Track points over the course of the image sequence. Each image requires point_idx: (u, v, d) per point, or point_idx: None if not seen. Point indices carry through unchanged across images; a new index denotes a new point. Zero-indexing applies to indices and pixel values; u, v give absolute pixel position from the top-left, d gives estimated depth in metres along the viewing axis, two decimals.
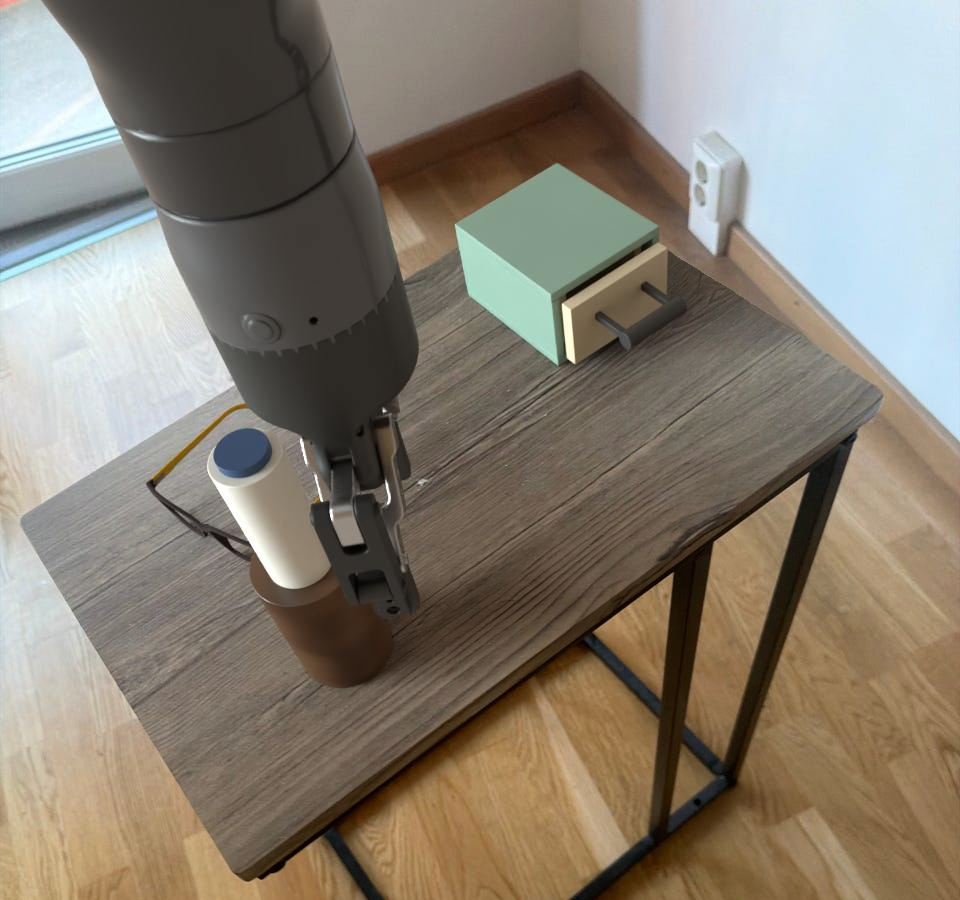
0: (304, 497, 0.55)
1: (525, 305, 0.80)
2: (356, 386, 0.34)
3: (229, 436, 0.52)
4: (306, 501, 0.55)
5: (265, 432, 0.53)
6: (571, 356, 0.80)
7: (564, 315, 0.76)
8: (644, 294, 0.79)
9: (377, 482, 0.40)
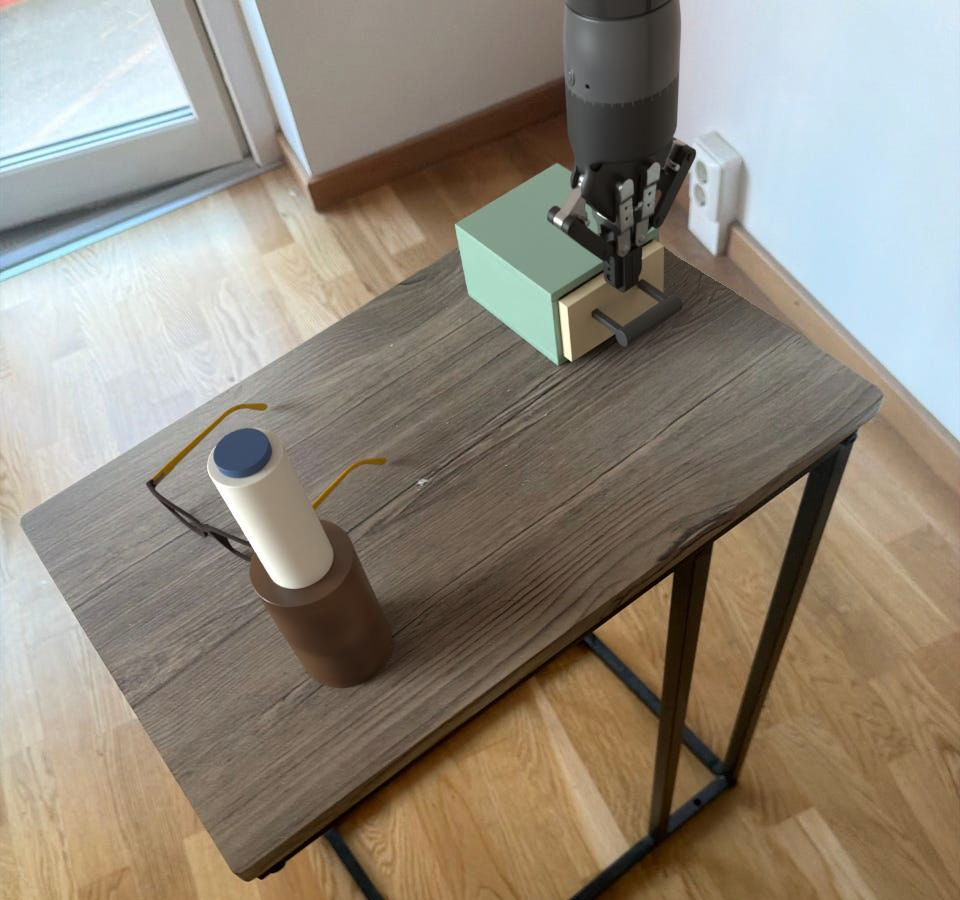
0: (304, 497, 0.55)
1: (525, 305, 0.80)
2: (597, 138, 0.62)
3: (229, 436, 0.52)
4: (306, 501, 0.55)
5: (265, 432, 0.53)
6: (567, 353, 0.80)
7: (561, 312, 0.77)
8: (641, 292, 0.80)
9: (599, 209, 0.68)
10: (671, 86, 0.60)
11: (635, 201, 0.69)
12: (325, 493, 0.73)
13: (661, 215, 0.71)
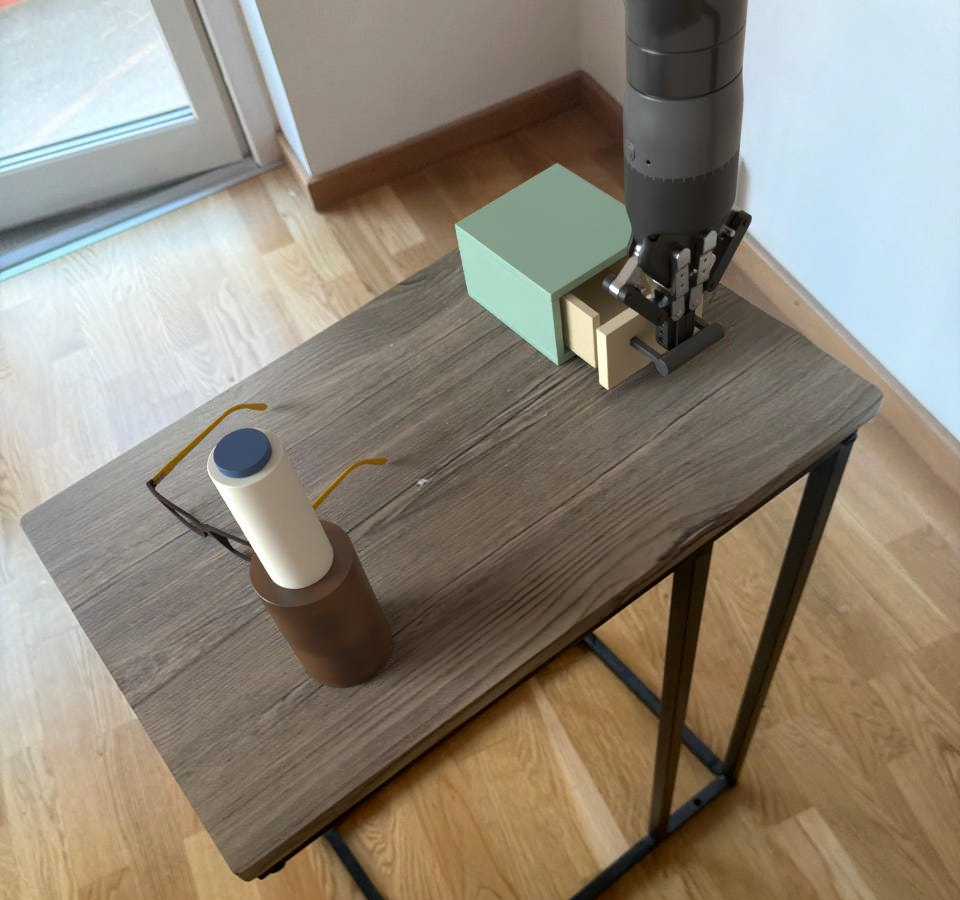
0: (304, 497, 0.55)
1: (525, 305, 0.80)
2: (656, 211, 0.62)
3: (229, 436, 0.52)
4: (306, 501, 0.55)
5: (265, 432, 0.53)
6: (604, 381, 0.78)
7: (598, 341, 0.74)
8: None
9: (655, 277, 0.67)
10: (732, 160, 0.60)
11: (690, 267, 0.68)
12: (325, 493, 0.73)
13: (715, 279, 0.71)
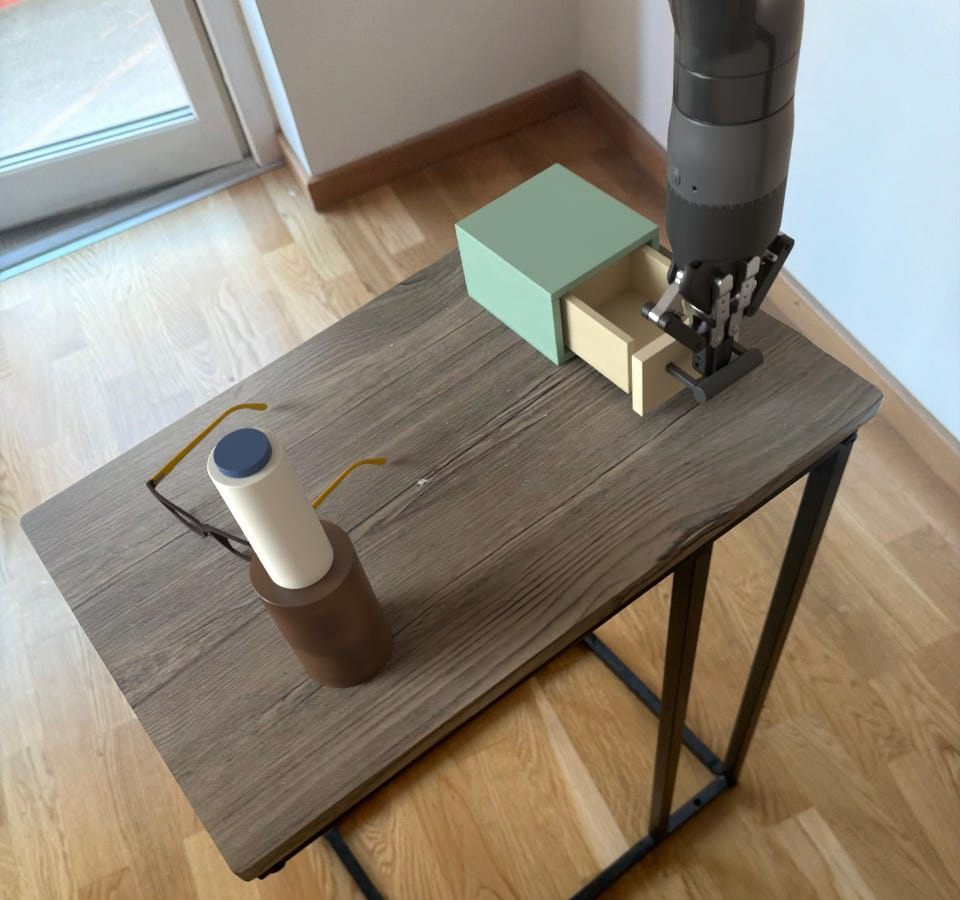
0: (304, 497, 0.55)
1: (525, 305, 0.80)
2: (701, 238, 0.60)
3: (229, 436, 0.52)
4: (306, 501, 0.55)
5: (265, 432, 0.53)
6: (638, 408, 0.75)
7: (634, 367, 0.72)
8: None
9: (695, 303, 0.65)
10: (781, 186, 0.58)
11: (731, 293, 0.66)
12: (325, 493, 0.73)
13: (755, 304, 0.69)
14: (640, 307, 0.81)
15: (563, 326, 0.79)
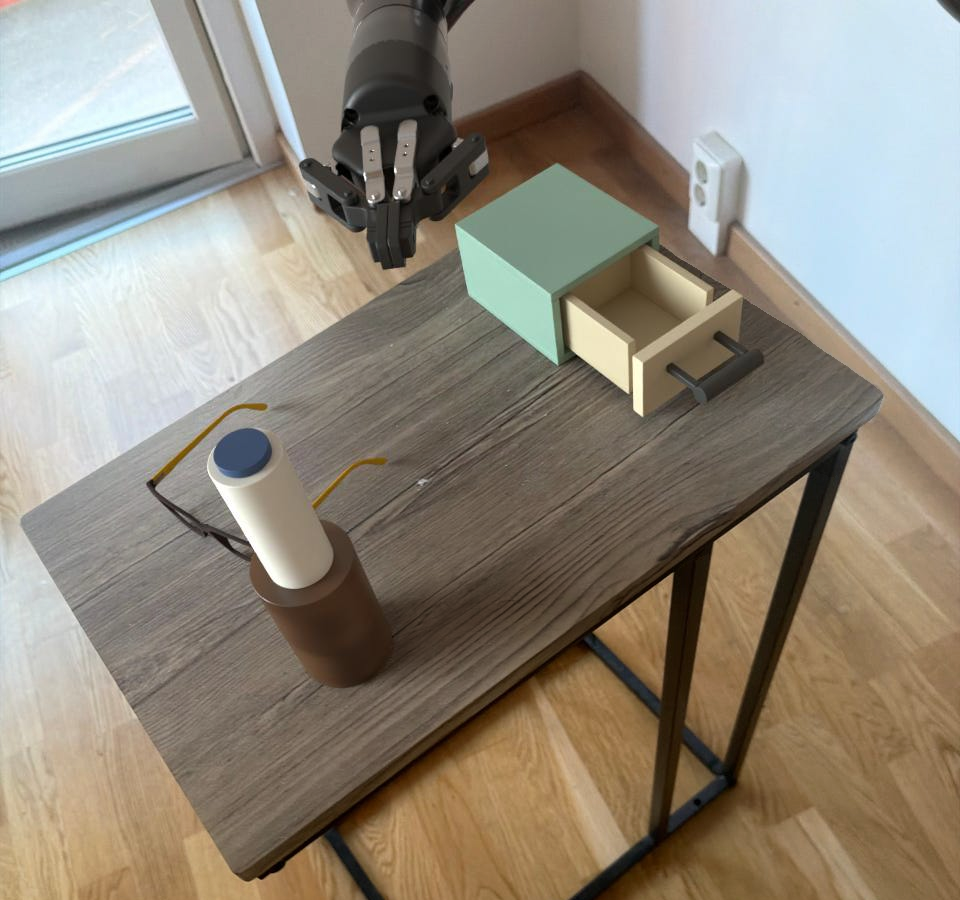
0: (304, 497, 0.55)
1: (525, 305, 0.80)
2: None
3: (229, 436, 0.52)
4: (306, 501, 0.55)
5: (265, 432, 0.53)
6: (638, 408, 0.75)
7: (634, 367, 0.72)
8: (716, 343, 0.75)
9: (348, 163, 0.61)
10: (402, 42, 0.62)
11: (395, 161, 0.60)
12: (325, 493, 0.73)
13: (433, 177, 0.58)
14: (641, 307, 0.81)
15: (564, 327, 0.79)
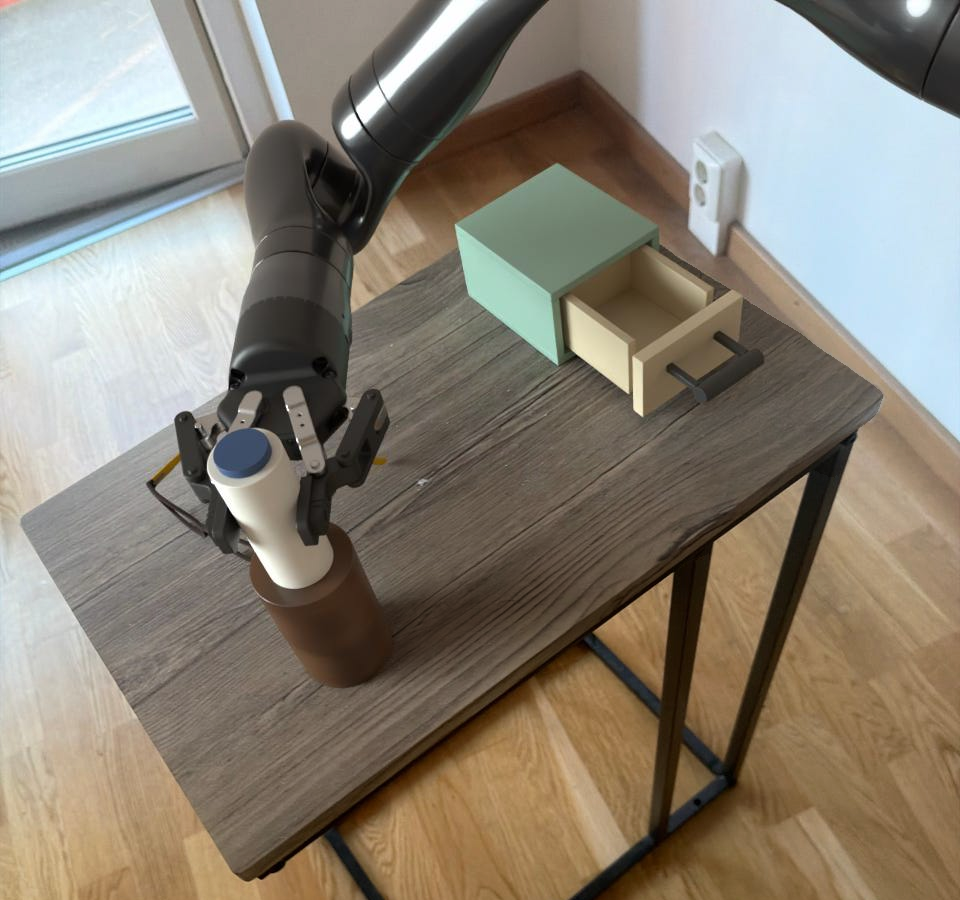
0: None
1: (525, 305, 0.80)
2: None
3: (229, 436, 0.52)
4: None
5: (265, 432, 0.53)
6: (638, 408, 0.75)
7: (634, 367, 0.72)
8: (716, 343, 0.75)
9: None
10: (292, 299, 0.59)
11: (291, 432, 0.57)
12: None
13: (346, 448, 0.55)
14: (641, 307, 0.81)
15: (564, 327, 0.79)
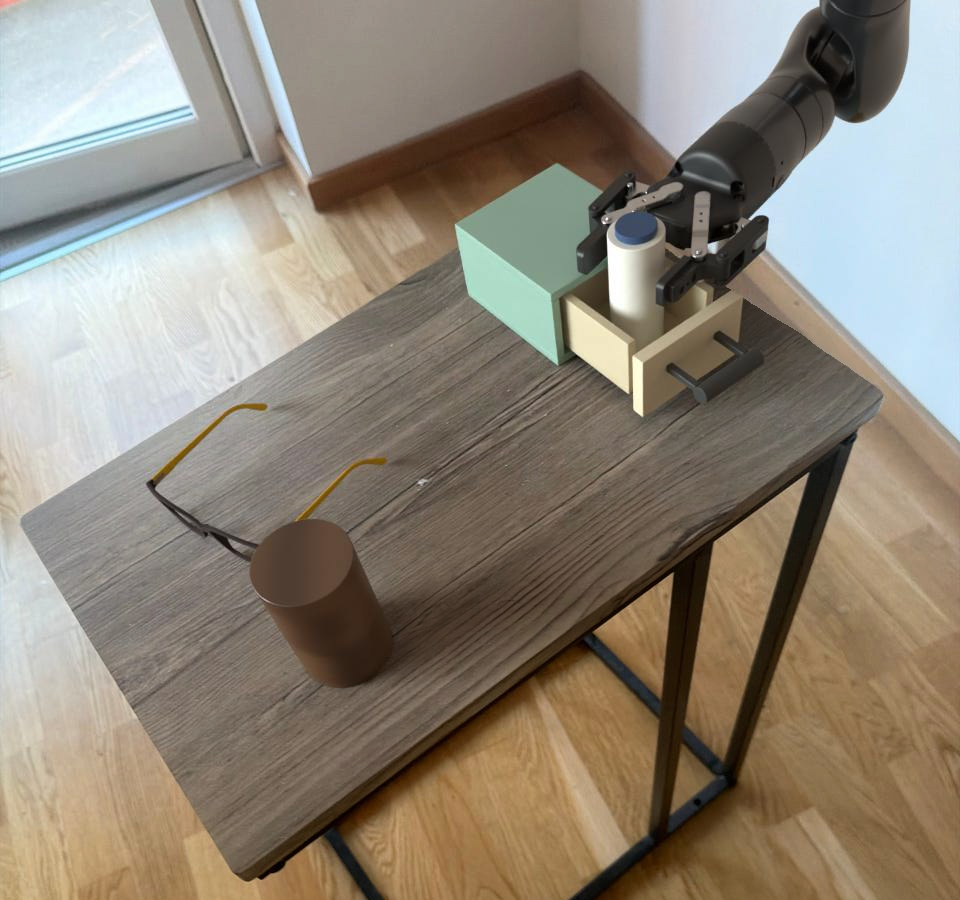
0: None
1: (525, 305, 0.80)
2: None
3: (635, 213, 0.71)
4: None
5: (660, 223, 0.71)
6: (638, 408, 0.75)
7: (634, 367, 0.72)
8: (716, 343, 0.75)
9: None
10: (750, 130, 0.74)
11: (690, 225, 0.73)
12: (325, 493, 0.73)
13: (726, 251, 0.70)
14: None
15: (564, 327, 0.79)
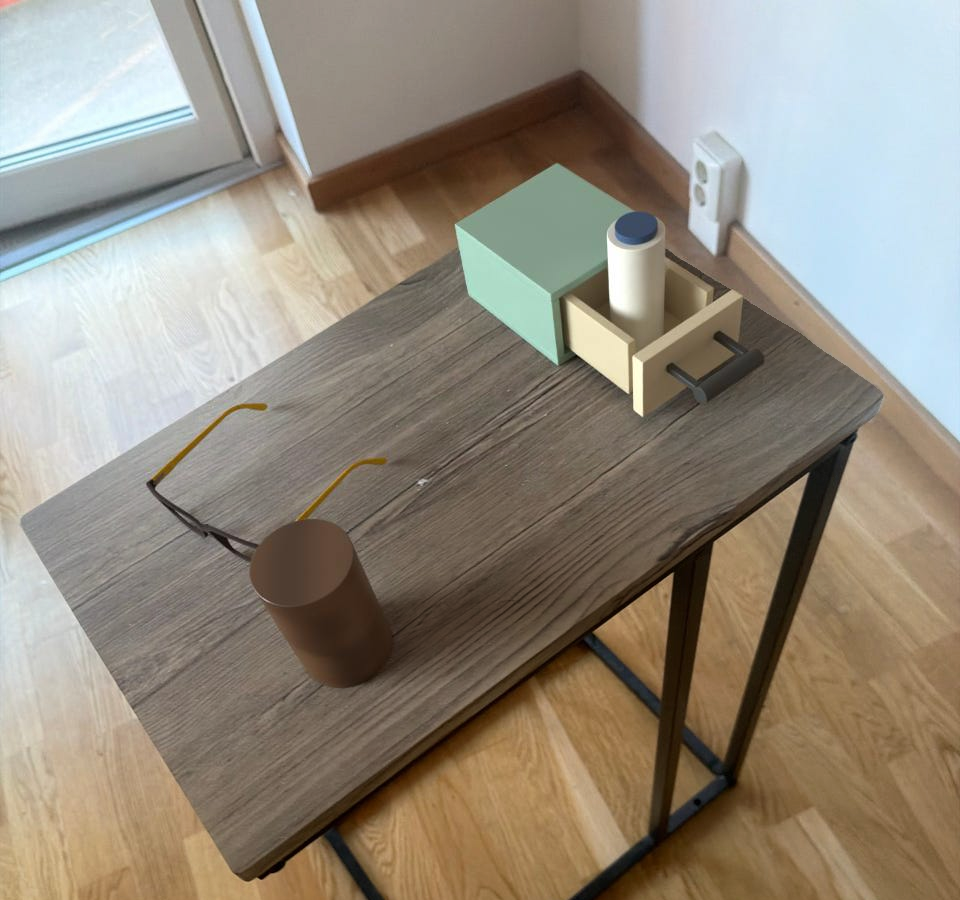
0: (659, 284, 0.73)
1: (525, 305, 0.80)
2: None
3: (635, 213, 0.71)
4: (659, 288, 0.73)
5: (660, 223, 0.71)
6: (638, 408, 0.75)
7: (634, 367, 0.72)
8: (716, 343, 0.75)
9: None
10: None
11: None
12: (325, 493, 0.73)
13: None
14: None
15: (564, 327, 0.79)
